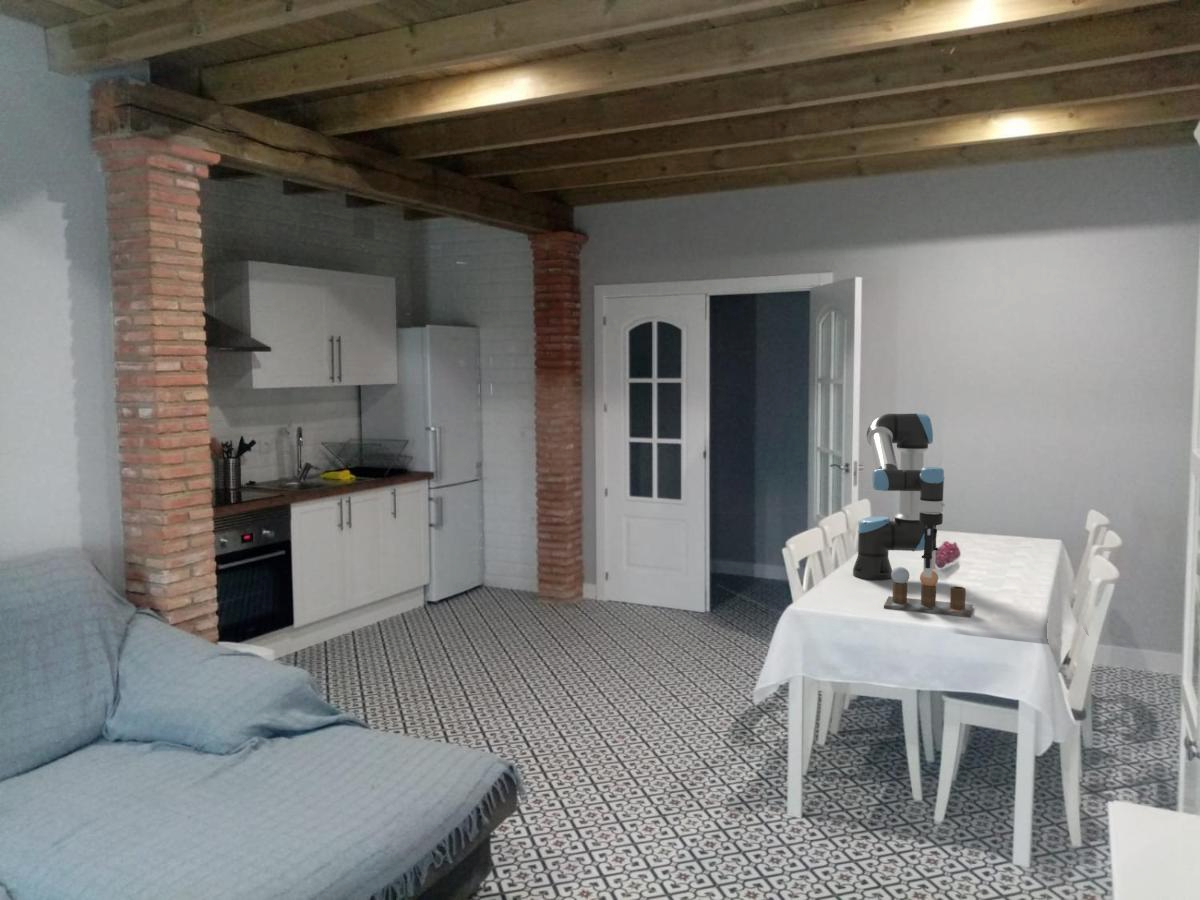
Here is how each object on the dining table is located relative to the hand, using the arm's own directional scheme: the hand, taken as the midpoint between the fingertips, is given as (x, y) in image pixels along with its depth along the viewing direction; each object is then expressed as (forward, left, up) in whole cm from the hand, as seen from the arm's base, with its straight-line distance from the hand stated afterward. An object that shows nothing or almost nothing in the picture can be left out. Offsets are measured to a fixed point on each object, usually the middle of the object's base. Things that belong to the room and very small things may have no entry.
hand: (929, 573), depth 316 cm
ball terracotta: (0, 0, -5) cm, 5 cm away
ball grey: (-10, 0, -5) cm, 11 cm away
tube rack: (0, 0, -12) cm, 12 cm away
